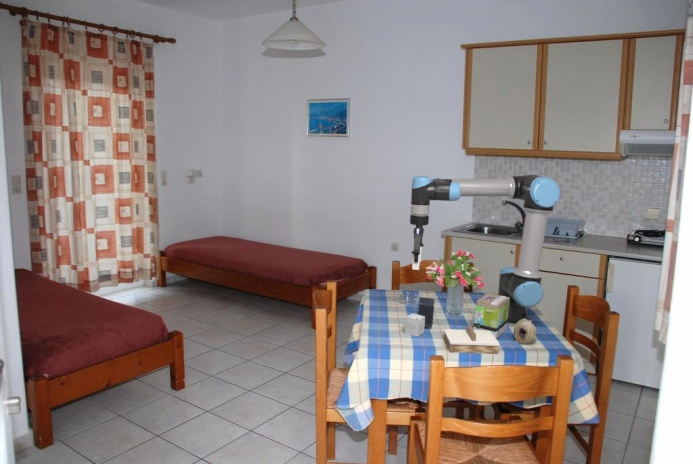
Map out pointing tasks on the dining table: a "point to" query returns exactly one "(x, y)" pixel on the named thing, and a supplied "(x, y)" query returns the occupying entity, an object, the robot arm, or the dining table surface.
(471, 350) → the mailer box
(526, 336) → the twine ball
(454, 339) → the lid
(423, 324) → the skincare box
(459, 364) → the dining table surface
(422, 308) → the small box
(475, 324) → the tea box
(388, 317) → the dining table surface
